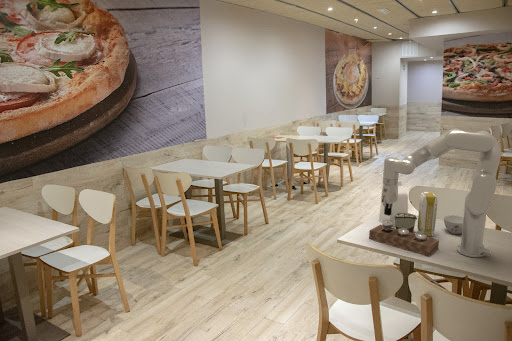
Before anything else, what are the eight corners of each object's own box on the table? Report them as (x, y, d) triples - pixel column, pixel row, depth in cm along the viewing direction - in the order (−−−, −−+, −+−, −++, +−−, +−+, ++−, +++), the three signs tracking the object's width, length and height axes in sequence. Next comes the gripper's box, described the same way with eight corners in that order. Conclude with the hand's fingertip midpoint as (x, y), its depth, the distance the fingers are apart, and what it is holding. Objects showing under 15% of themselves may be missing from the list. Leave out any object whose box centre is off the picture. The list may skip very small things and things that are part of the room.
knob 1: (393, 232, 216) (394, 221, 215) (389, 235, 213) (389, 223, 211) (384, 230, 220) (385, 218, 219) (380, 232, 216) (380, 221, 215)
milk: (389, 227, 235) (392, 184, 229) (378, 220, 246) (381, 179, 240) (407, 225, 238) (411, 182, 232) (396, 219, 248) (399, 178, 243)
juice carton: (416, 230, 230) (419, 189, 224) (430, 231, 228) (434, 190, 223) (419, 236, 221) (423, 194, 215) (435, 237, 219) (439, 195, 214)
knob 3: (427, 246, 205) (428, 234, 203) (422, 249, 201) (423, 237, 200) (416, 243, 208) (417, 231, 207) (412, 246, 205) (413, 234, 203)
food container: (412, 229, 232) (414, 212, 229) (415, 233, 226) (417, 216, 223) (390, 228, 233) (391, 212, 231) (393, 232, 227) (394, 215, 225)
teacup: (439, 233, 226) (441, 219, 224) (445, 226, 235) (447, 213, 234) (469, 239, 217) (471, 225, 215) (474, 232, 226) (476, 219, 224)
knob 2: (409, 241, 211) (410, 229, 209) (405, 244, 207) (406, 232, 206) (400, 238, 214) (401, 227, 213) (395, 241, 211) (396, 229, 209)
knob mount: (438, 249, 204) (439, 239, 203) (428, 256, 196) (429, 246, 195) (379, 232, 226) (380, 224, 225) (368, 238, 218) (369, 230, 217)
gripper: (390, 185, 202) (387, 219, 207) (403, 180, 213) (400, 213, 217) (376, 182, 208) (374, 216, 212) (390, 177, 218) (387, 210, 222)
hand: (387, 214), depth 214 cm, fingers closed
